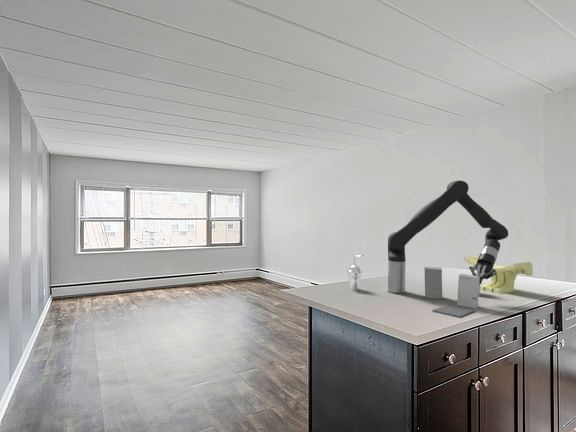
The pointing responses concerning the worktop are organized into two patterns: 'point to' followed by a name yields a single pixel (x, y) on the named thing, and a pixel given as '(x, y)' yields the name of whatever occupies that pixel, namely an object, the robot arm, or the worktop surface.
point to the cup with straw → (354, 275)
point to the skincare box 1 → (433, 282)
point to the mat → (454, 310)
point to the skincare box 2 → (468, 291)
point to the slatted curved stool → (503, 275)
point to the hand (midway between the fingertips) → (477, 284)
